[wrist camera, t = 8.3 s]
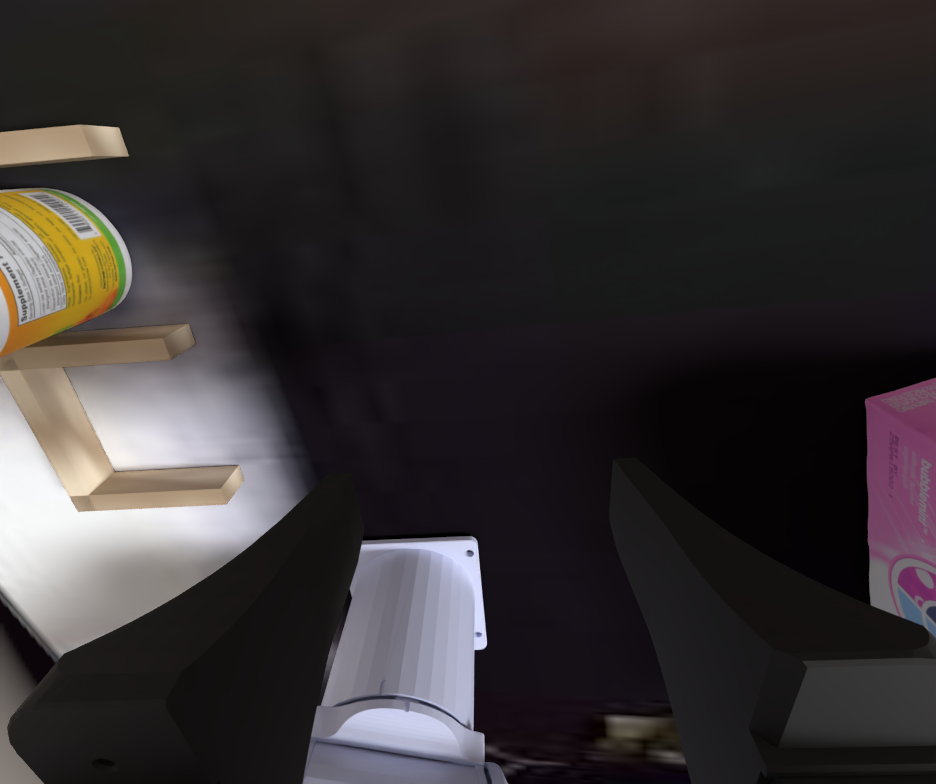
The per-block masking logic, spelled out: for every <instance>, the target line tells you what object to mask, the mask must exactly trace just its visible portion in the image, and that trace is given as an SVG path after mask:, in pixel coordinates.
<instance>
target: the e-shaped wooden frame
mask: <svg viewBox="0 0 936 784" xmlns="http://www.w3.org/2000/svg"><path fill="white" fill-rule="evenodd" d="M126 156H129V155H128V152H127V149H126V147H125V144H124V141H123V138H122V135H121V132H120V130H119V128H116V127H104V126H91V125H72V126H61V127H51V128H41V129H30V130H20V131H10V132H0V168H7V167H17V166H28V165H39V164H50V163H61V162H71V161H82V160H93V159H104V158H115V157H126ZM195 344H196V343H195V341H194V338H193V335H192V332H191V329H190V327H189V324H176V325H162V326H148V327H134V328H120V329H106V330H92V331H78V332H64V333H57V334H55V335H53V336H50V337H48V338H45V339H43V340H41V341H38V342H36V343H34V344H31V345H29V346H26V347H24V348H22V349H19V350H17V351H14V352H12V353H10V354H7V355H5V356H2V357H0V375H1V377H2V378H3V380H4V382H5V384H6V385H7V387H8V389H9V391H10V393H11V394H12V396H13V398H14V400H15V401H16V403H17V405H18V407H19V408H20V410H21V412H22V414H23V415H24V417H25V419H26V421H27V422H28V424H29V426H30V428H31V430H32V431H33V433H34V435H35V437H36V438H37V440H38V442H39V444H40V445H41V447H42V449H43V451H44V452H45V454H46V456H47V458H48V460H49V461H50V463H51V465H52V467H53V468H54V470H55V472H56V474H57V475H58V477H59V479H60V481H61V482H62V484H63V486H64V488H65V489H66V491H67V493H68V495H69V497H70V498H71V500H72V502H73V504H74V505H75V507H76V509H77V511H78V512H81V511H102V510H122V509H142V508H162V507H183V506H203V505H223V504H227V503H228V502H229V501H230V499H231V498H232V496H233V495H234V494H235V492H236V491H237V490H238V488H239V487H240V485H241V484H242V483H243V481H244V479H243V476H242V473H241V470H240V467H239V465H236V466H218V467H199V468H181V469H163V470H144V471H126V472H115V471H114V469H113V467H112V465H111V463H110V461H109V459H108V457H107V455H106V453H105V451H104V449H103V447H102V445H101V443H100V441H99V439H98V437H97V435H96V433H95V431H94V429H93V427H92V425H91V423H90V421H89V419H88V417H87V415H86V413H85V411H84V409H83V407H82V405H81V403H80V401H79V399H78V397H77V395H76V393H75V391H74V389H73V387H72V385H71V383H70V381H69V379H68V377H67V375H66V373H65V371H64V369H63V367H74V366H89V365H104V364H119V363H134V362H149V361H163V360H172V359H173V358H175V357H176V356H178V355H179V354H181V353H182V352H184V351H185V350H187V349H188V348H190V347H191V346H193V345H195Z"/></svg>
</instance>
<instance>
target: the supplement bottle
mask: <svg viewBox="0 0 936 784" xmlns="http://www.w3.org/2000/svg"><path fill="white" fill-rule="evenodd" d="M131 281H132V266H131V260H130V256H129V253H128V250H127V248H126V245H125V243H124V241H123V239H122V238H121V236H120V234H119V233H118V231H117V230H116V229H115V227H114V226H113V225H112V224H111V223H110V221H109V220H108V219H107V218H106V217H105V216H104V215H103V214H102V213H101V212H100V211H98V210H97V209H96V208H95V207H94V206H92V205H91V204H89V203H88V202H86V201H84V200H83V199H81V198H79V197H77V196H75V195H73V194H70V193H67V192H64V191H61V190H57V189H50V188H23V189H10V190H0V357H2V356H5V355H7V354H10V353H12V352H14V351H17V350H19V349H22V348H24V347H26V346H29V345H31V344H34V343H36V342H38V341H41V340H43V339H45V338H48V337H50V336H53V335H55V334H57V333H60V332H62V331H64V330H67V329H69V328H72V327H74V326H76V325H79V324H81V323H84V322H86V321H89V320H91V319H93V318H95V317H98V316H100V315H102V314H104V313H106V312H108V311H110V310H112V309H114V308H115V307H116V306H118V305H119V304H120V303H121V302H122V301H123V300H124V298H125V297H126V295H127V293H128V291H129V289H130V286H131Z"/></svg>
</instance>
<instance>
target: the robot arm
mask: <svg viewBox="0 0 936 784" xmlns="http://www.w3.org/2000/svg"><path fill="white" fill-rule="evenodd" d="M609 520H610V524H611V528H612V532H613V536H614V540H615V544H616V547H617V551H618V554H619V557H620V559H621V562H622V564H623V567H624V569H625V572H626V574H627V577H628V579H629V582H630V584H631V587H632V589H633V592H634V594H635V597H636V599H637V602H638V604H639V607H640V609H641V612H642V614H643V617H644V619H645V622H646V624H647V627H648V630H649V632H650V635H651V638H652V641H653V644H654V647H655V650H656V654H657V657H658V661H659V664H660V667H661V671H662V674H663V678H664V681H665V685H666V688H667V692H668V696H669V699H670V703H671V707H672V710H673V714H674V718H675V721H676V725H677V729H678V733H679V737H680V740H681V744H682V748H683V752H684V756H685V760H686V764H687V768H688V772H689V776H690V780H691V784H936V638H935V637H934V636H933V635H932V634H931V633H930V632H929V631H928V630H927V629H926V628H925V627H924V626H923V625H920V624H918V623H915V622H912V621H910V620H907V619H905V618H902V617H899V616H897V615H894V614H892V613H889V612H886V611H884V610H881V609H879V608H876V607H874V606H871V605H868V604H866V603H863V602H861V601H859V600H856V599H854V598H852V597H849V596H847V595H845V594H843V593H841V592H838V591H836V590H834V589H832V588H829V587H827V586H825V585H823V584H821V583H819V582H817V581H815V580H813V579H810V578H808V577H806V576H804V575H802V574H800V573H798V572H797V571H795V570H793V569H791V568H789V567H787V566H785V565H783V564H781V563H780V562H778V561H776V560H774V559H772V558H770V557H769V556H767V555H765V554H763V553H762V552H760V551H758V550H757V549H755V548H753V547H752V546H750V545H749V544H747V543H745V542H744V541H742V540H741V539H739V538H737V537H736V536H734V535H733V534H731V533H730V532H728V531H727V530H725V529H724V528H722V527H721V526H719V525H718V524H717V523H715V522H714V521H713V520H711V519H710V518H708V517H707V516H706V515H704V514H703V513H701V512H700V511H699V510H698V509H696V508H695V507H694V506H692V505H691V504H690V503H689V502H687V501H686V500H685V499H684V498H682V497H681V496H680V495H679V494H677V493H676V492H675V491H674V490H673V489H671V488H670V487H669V486H668V485H667V484H666V483H664V482H663V481H662V480H661V479H660V478H659V477H658V476H656V475H655V474H654V473H653V472H652V471H651V470H650V469H648V468H647V467H646V466H645V465H644V464H643V463H642V462H640V461H639V460H638V459H637V458H621V459H613V465H612V480H611V495H610V510H609ZM363 533H364V526H363V522H362V517H361V513H360V509H359V504H358V500H357V496H356V491H355V487H354V483H353V478H352V474H351V473H335V474H329V475H328V476H327V477H326V478H325V479H323V480H322V481H321V482H320V483H319V484H318V485H317V486H316V487H315V488H314V489H313V490H312V491H311V492H310V493H309V494H308V495H307V496H306V497H305V498H304V499H303V500H302V501H300V502H299V503H298V504H297V505H296V506H295V507H294V508H293V509H292V510H291V511H290V512H289V513H288V514H287V515H286V516H284V517H283V518H282V519H281V520H280V521H279V522H278V523H277V524H275V525H274V526H273V527H272V528H271V529H270V530H268V531H267V532H266V533H265V534H264V535H263V536H261V537H260V538H259V539H258V540H257V541H256V542H254V543H253V544H252V545H251V546H250V547H248V548H247V549H246V550H245V551H243V552H242V553H241V554H239V555H238V556H237V557H235V558H234V559H233V560H231V561H230V562H228V563H227V564H226V565H224V566H223V567H222V568H220V569H219V570H217V571H216V572H214V573H213V574H212V575H210V576H208V577H207V578H205V579H204V580H202V581H201V582H199V583H197V584H196V585H194V586H193V587H191V588H190V589H188V590H186V591H185V592H183V593H182V594H180V595H179V596H177V597H175V598H174V599H172V600H170V601H168V602H167V603H165V604H163V605H161V606H160V607H158V608H156V609H154V610H153V611H151V612H149V613H147V614H145V615H143V616H141V617H140V618H138V619H136V620H134V621H132V622H130V623H128V624H126V625H124V626H122V627H120V628H118V629H116V630H114V631H112V632H110V633H108V634H106V635H104V636H102V637H99V638H97V639H95V640H93V641H91V642H89V643H87V644H85V645H82V646H80V647H78V648H76V649H74V650H72V651H69V652H67V653H65V654H63V656H62V657H61V658H60V659H59V660H58V662H57V663H56V664H55V665H54V666H53V668H52V669H51V670H50V671H49V672H48V674H47V675H46V676H45V677H44V678H43V679H42V681H41V682H40V683H39V684H38V686H37V687H36V688H35V689H34V690H33V692H32V693H31V694H30V695H29V697H27V699H26V700H25V701H24V702H23V703H22V705H21V706H20V707H19V708H18V709H17V711H16V712H15V713H14V714H13V715H12V717H11V718H10V721H9V724H8V727H7V729H8V735H9V740H10V743H11V745H12V746H13V748H14V749H15V751H16V752H17V754H18V755H19V756H20V757H21V758H22V759H23V760H24V761H25V763H26V764H27V765H28V766H29V767H30V768H31V769H32V770H33V771H34V772H35V774H36V775H37V776H38V777H39V778H40V779H41V780H42V782H43V783H44V784H508V783H507V781H506V779H505V777H504V774H503V772H502V770H501V769H500V767H499V766H498V765H497V764H495V763H490V762H484V734H483V733H480V732H475V731H473V715H474V650H480V649H483V648H485V647H486V645H487V638H486V628H485V617H484V606H483V596H482V585H481V574H480V564H479V553H478V542H477V540H476V539H475V538H474V537H472V536H460V537H437V538H415V539H392V540H370V541H362V539H363ZM468 550H471V551H472V552H467V551H468ZM349 589H350V591H351V595H352V601H351V604H350V608H349V611H348V615H347V618H346V622H345V625H344V628H343V632H342V635H341V639H340V642H339V646H338V649H337V653H336V656H335V660H334V663H333V667H332V670H331V674H330V677H329V680H328V684H327V687H326V691H325V694H324V698H323V701H322V705H321V706H317V704H318V699H319V694H320V690H321V685H322V681H323V677H324V672H325V668H326V663H327V659H328V654H329V651H330V647H331V644H332V640H333V637H334V634H335V631H336V628H337V625H338V622H339V619H340V616H341V613H342V610H343V607H344V604H345V601H346V598H347V595H348V592H349Z"/></svg>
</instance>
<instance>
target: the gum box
mask: <svg viewBox="0 0 936 784" xmlns="http://www.w3.org/2000/svg"><path fill="white" fill-rule="evenodd" d="M865 405H866V413H867V449H868V453H867V486H868V506H869V513H868V545H869V555H870V570H869V588H870V601H871V606H874V607H876V608H879V609H881V610H884V611H886V612H889V613H892V614H894V615H897V616H899V617H902V618H905V619H907V620H910V621H912V622H915V623H918V624H920V625H923V626H924V627H925V628H926V629H927V630H928V631H929V632H930V633H931V634H932V635H933V636H934V637H935V638H936V378H933V379H930V380H927V381H924V382H921V383H918V384H915V385H911V386H908V387H905V388H902V389H898V390H895V391H891V392H888V393H885V394H881V395H877V396H874V397H870V398H867V399H865Z"/></svg>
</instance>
